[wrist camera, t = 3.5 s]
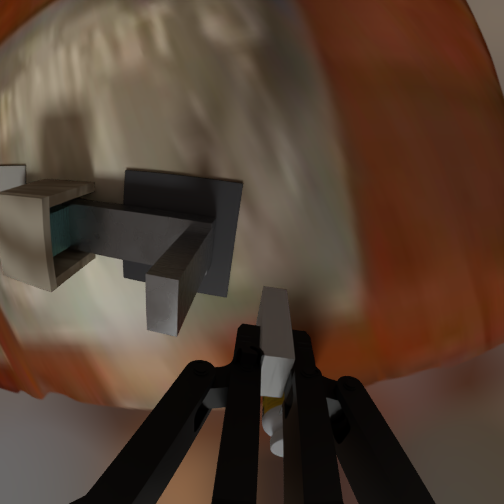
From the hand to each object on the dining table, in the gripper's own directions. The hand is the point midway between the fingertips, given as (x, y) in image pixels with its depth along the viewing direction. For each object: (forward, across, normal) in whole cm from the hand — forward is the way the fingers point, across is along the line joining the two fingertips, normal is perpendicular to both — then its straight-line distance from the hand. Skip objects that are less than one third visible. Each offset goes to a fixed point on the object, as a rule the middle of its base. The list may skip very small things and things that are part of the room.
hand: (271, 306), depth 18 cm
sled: (+10, -18, 0) cm, 21 cm away
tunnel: (+11, -24, 0) cm, 26 cm away
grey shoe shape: (+11, -10, 0) cm, 14 cm away
